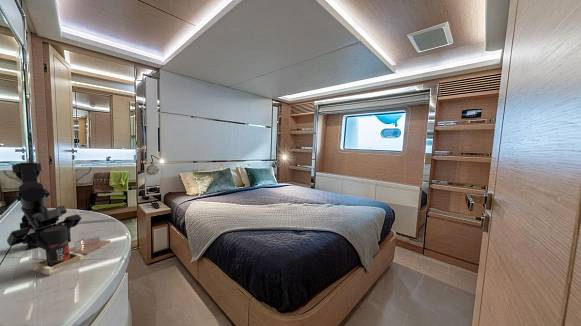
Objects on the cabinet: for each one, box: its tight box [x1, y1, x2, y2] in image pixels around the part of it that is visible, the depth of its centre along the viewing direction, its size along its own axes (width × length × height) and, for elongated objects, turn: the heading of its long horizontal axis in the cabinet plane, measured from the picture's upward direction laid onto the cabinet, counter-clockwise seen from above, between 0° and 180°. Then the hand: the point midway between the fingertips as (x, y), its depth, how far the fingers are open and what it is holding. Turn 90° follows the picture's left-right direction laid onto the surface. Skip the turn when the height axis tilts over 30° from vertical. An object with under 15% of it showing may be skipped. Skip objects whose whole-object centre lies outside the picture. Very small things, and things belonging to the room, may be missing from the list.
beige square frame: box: [31, 251, 85, 277], centre depth 82 cm, size 10×10×2 cm
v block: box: [69, 235, 111, 255], centre depth 95 cm, size 10×11×3 cm
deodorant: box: [43, 225, 70, 267], centre depth 81 cm, size 6×6×15 cm
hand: (59, 245), depth 80 cm, fingers closed on deodorant, 6 cm apart
